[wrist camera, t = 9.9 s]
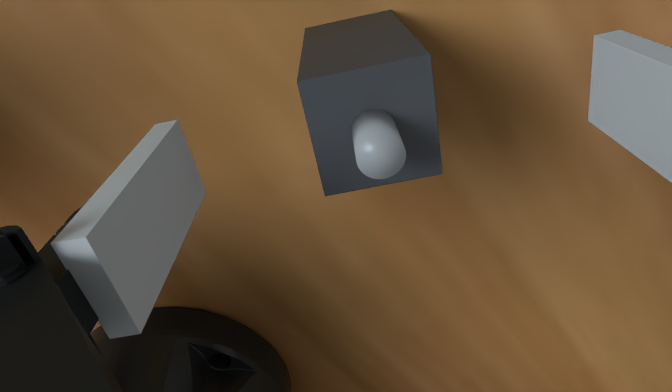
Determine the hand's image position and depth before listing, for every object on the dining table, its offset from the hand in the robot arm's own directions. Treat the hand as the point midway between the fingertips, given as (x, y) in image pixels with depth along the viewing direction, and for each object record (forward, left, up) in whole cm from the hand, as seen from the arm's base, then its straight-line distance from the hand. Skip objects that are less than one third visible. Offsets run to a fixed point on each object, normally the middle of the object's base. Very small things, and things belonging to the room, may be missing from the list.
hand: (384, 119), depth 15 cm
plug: (0, 0, -9) cm, 9 cm away
